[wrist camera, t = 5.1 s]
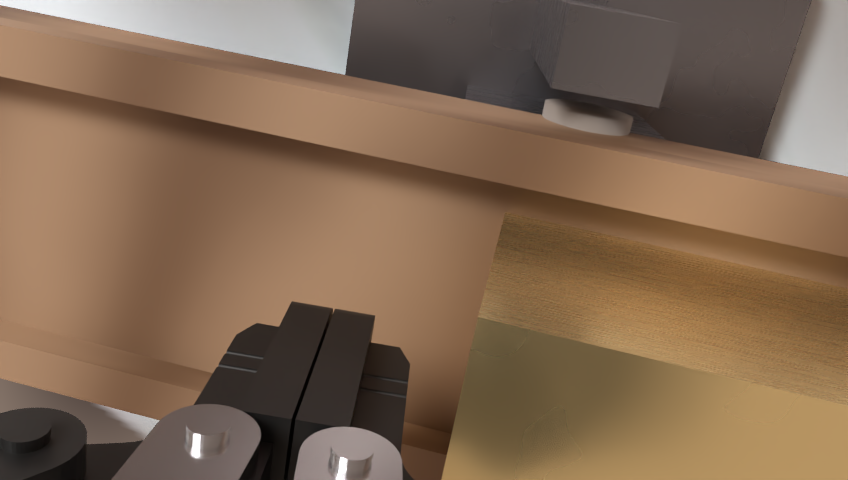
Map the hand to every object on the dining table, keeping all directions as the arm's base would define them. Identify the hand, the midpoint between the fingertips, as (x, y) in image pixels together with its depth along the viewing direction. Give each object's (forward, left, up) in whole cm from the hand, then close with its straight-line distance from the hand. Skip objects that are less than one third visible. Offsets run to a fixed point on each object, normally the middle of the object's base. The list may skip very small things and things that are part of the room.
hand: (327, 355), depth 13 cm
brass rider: (-6, 0, -2) cm, 7 cm away
